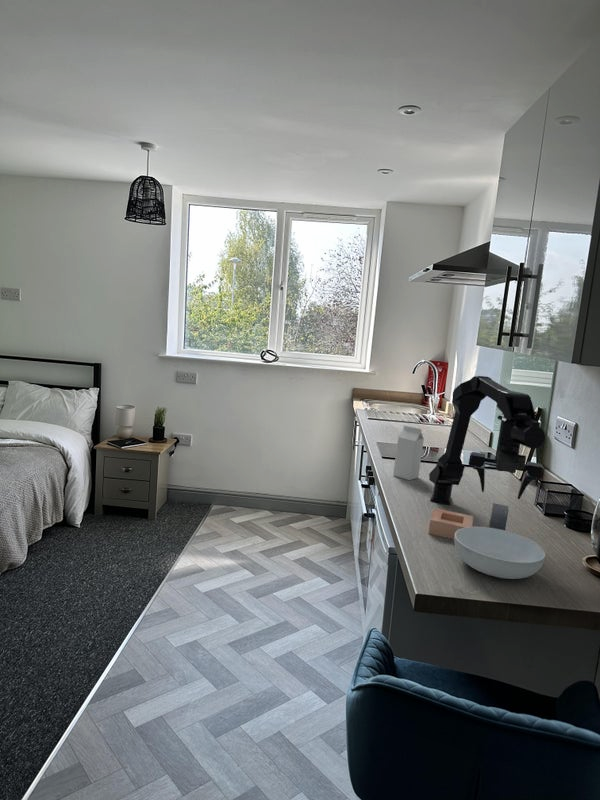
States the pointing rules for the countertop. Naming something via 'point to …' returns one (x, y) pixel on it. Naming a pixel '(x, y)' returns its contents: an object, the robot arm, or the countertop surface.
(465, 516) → the orange square socket block
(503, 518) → the tall grey square pillar
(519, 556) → the serving bowl
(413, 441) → the milk carton
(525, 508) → the countertop surface
